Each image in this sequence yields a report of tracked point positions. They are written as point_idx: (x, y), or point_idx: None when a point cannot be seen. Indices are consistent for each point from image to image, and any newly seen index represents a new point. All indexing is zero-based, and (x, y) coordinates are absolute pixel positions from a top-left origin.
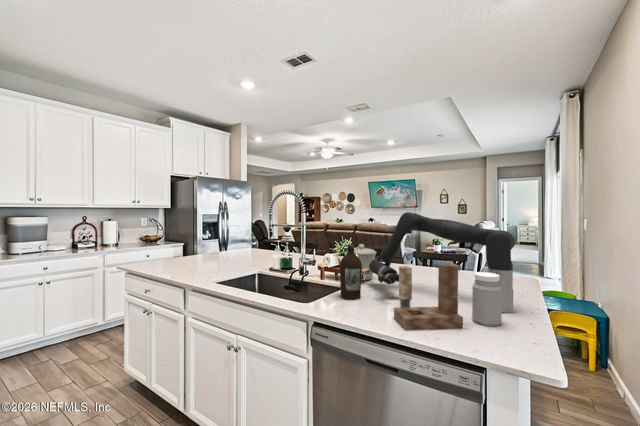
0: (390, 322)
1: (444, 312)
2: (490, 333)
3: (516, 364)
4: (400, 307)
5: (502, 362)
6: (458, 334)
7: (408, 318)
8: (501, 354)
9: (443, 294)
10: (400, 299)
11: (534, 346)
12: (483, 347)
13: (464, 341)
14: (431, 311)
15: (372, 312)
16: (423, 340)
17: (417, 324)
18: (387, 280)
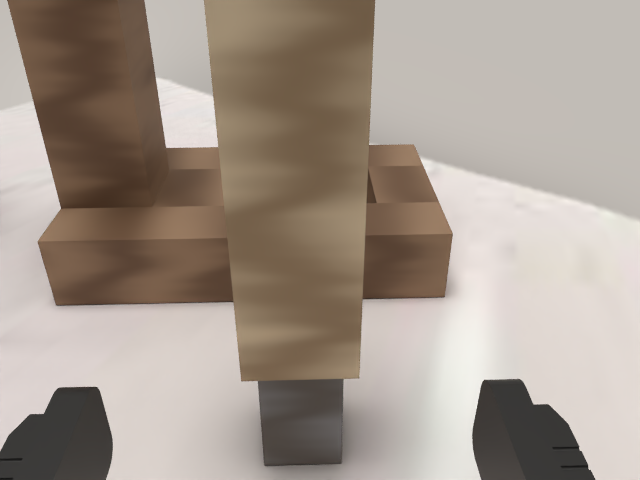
0: (475, 254)
1: (167, 161)
2: (40, 174)
3: (171, 92)
4: (340, 450)
5: (198, 96)
6: None
7: (397, 146)
8: (162, 110)
9: (149, 61)
10: (342, 387)
11: (4, 127)
12: (178, 127)
13: (209, 145)
14: (218, 191)
15: (625, 390)
16: None
17: None
18: (543, 408)
